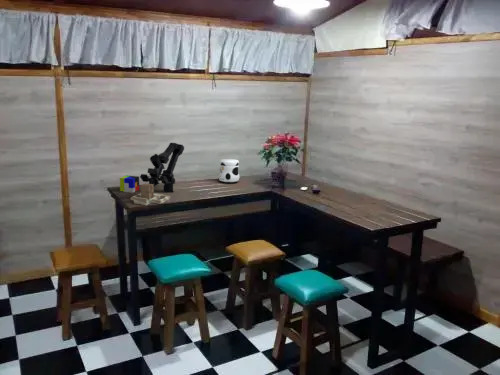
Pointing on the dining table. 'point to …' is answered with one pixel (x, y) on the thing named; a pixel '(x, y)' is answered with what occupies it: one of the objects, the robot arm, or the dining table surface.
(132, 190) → the puzzle toy
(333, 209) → the dining table surface
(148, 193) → the walnut block
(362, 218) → the dining table surface
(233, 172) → the milk container
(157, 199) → the board
